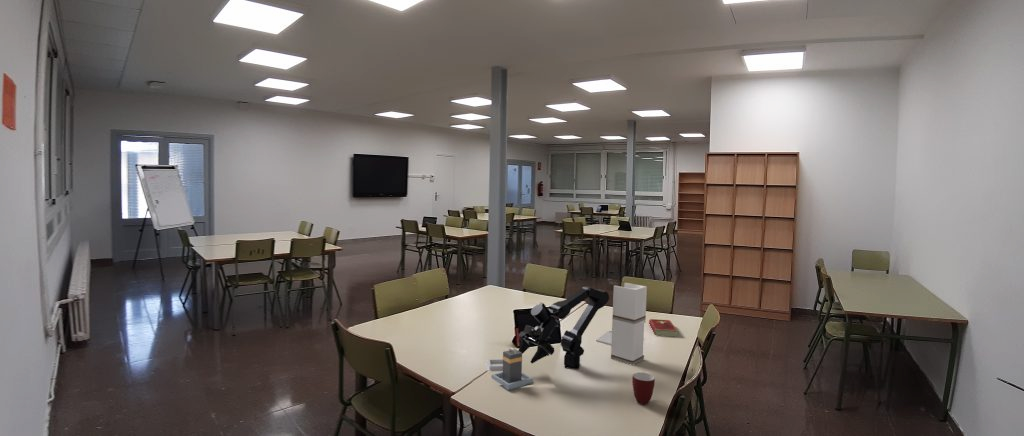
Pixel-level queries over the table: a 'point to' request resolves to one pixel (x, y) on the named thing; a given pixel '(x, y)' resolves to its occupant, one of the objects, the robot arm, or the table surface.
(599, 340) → the gadget
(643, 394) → the mug
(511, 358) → the block
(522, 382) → the light blue square frame
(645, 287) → the banded white pillar
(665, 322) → the hardcover book
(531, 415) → the table surface
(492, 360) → the dock
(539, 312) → the robot arm
